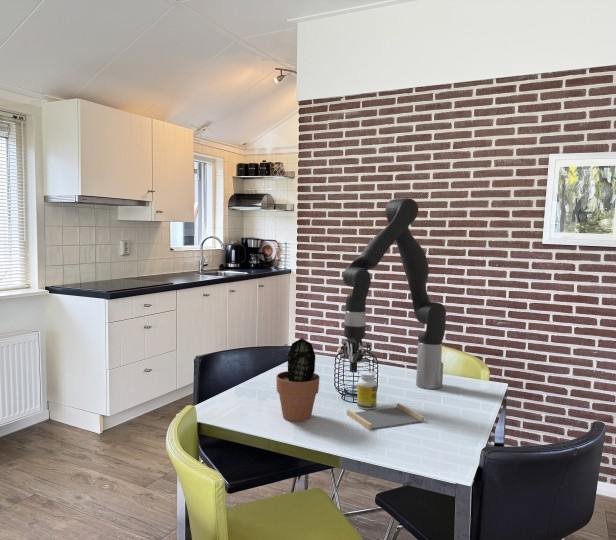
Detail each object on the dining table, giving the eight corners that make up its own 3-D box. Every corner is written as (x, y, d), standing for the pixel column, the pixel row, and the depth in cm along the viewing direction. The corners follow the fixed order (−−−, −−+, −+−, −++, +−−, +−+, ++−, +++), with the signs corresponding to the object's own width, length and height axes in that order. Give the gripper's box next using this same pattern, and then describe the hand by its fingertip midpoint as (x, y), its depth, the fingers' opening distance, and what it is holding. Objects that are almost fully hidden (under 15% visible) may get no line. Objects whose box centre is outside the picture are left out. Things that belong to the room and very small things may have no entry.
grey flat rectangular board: (398, 407, 174) (399, 403, 174) (424, 421, 161) (424, 416, 161) (346, 414, 166) (346, 409, 165) (369, 429, 153) (369, 424, 153)
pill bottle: (370, 411, 169) (371, 377, 168) (353, 407, 173) (354, 373, 172) (379, 406, 174) (380, 373, 174) (363, 402, 178) (364, 369, 178)
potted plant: (266, 415, 163) (268, 337, 162) (300, 406, 172) (302, 333, 170) (293, 428, 153) (295, 345, 151) (327, 418, 161) (329, 340, 160)
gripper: (373, 326, 177) (372, 376, 178) (355, 320, 189) (353, 366, 190) (354, 327, 173) (353, 377, 175) (337, 321, 186) (335, 368, 187)
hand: (353, 372), depth 182 cm, fingers closed
